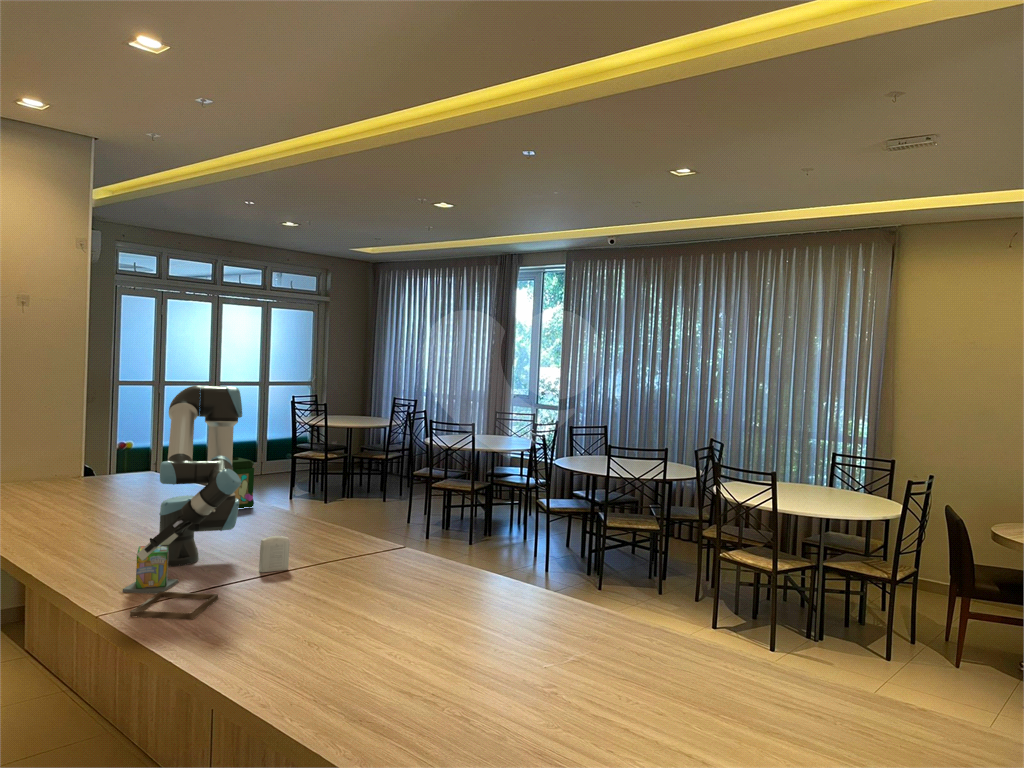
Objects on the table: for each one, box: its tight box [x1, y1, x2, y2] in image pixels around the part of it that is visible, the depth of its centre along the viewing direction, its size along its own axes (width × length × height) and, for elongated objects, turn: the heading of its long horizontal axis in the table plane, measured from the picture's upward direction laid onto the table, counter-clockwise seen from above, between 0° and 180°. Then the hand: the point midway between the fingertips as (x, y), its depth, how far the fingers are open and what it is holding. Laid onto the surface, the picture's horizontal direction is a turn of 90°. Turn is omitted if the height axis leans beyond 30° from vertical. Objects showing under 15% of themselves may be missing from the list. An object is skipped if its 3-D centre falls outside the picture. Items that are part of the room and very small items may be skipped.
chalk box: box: [135, 545, 169, 589], centre depth 229 cm, size 9×9×15 cm
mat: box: [122, 578, 179, 595], centre depth 229 cm, size 12×12×1 cm
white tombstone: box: [258, 535, 290, 573], centre depth 253 cm, size 10×4×12 cm, turn 123°
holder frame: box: [129, 591, 219, 621], centre depth 212 cm, size 18×18×2 cm
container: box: [232, 456, 255, 508], centre depth 352 cm, size 15×18×25 cm
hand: (150, 551), depth 229 cm, fingers open, 13 cm apart
